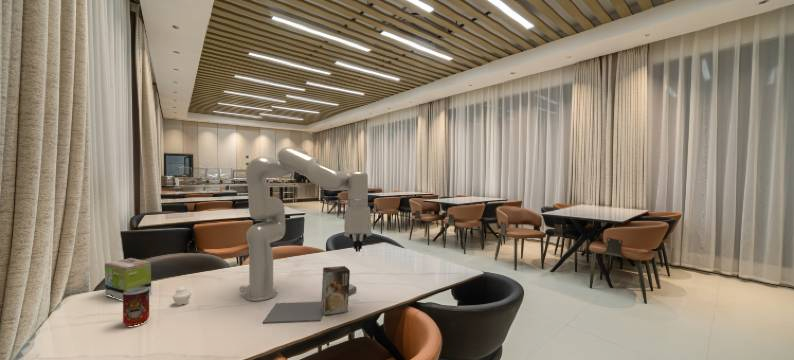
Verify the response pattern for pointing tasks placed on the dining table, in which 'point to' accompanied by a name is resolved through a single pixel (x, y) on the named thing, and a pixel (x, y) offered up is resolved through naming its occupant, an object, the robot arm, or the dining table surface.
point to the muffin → (181, 296)
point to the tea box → (126, 276)
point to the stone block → (352, 289)
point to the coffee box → (335, 290)
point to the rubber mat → (294, 312)
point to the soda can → (135, 305)
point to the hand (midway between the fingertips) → (357, 250)
